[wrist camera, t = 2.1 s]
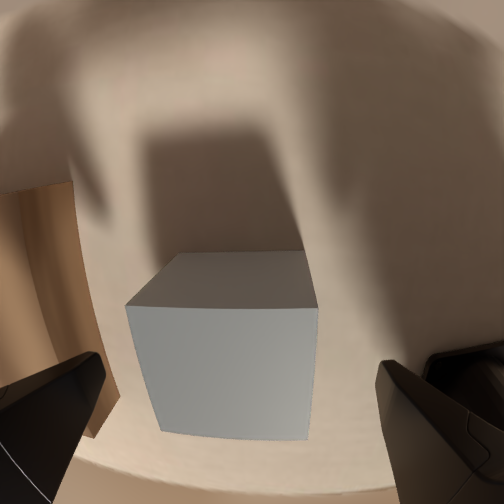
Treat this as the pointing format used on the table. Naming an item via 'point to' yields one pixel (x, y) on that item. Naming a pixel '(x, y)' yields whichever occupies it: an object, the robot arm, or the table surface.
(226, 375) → the slate cube
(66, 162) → the table surface
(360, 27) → the table surface
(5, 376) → the block
